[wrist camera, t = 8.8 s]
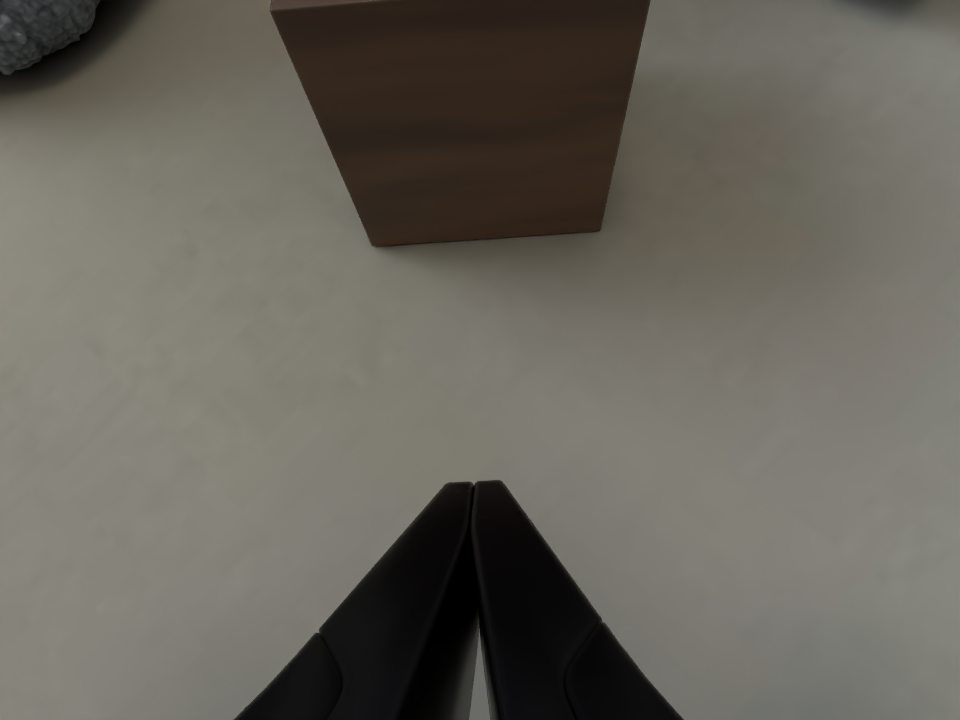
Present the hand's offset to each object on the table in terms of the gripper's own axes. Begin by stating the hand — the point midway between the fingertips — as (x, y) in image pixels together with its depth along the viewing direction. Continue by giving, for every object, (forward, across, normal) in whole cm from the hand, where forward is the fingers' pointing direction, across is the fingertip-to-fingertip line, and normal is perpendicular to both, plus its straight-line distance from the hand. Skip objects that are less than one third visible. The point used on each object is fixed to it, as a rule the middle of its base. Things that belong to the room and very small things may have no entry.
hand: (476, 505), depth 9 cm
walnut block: (+16, 0, -4) cm, 16 cm away
